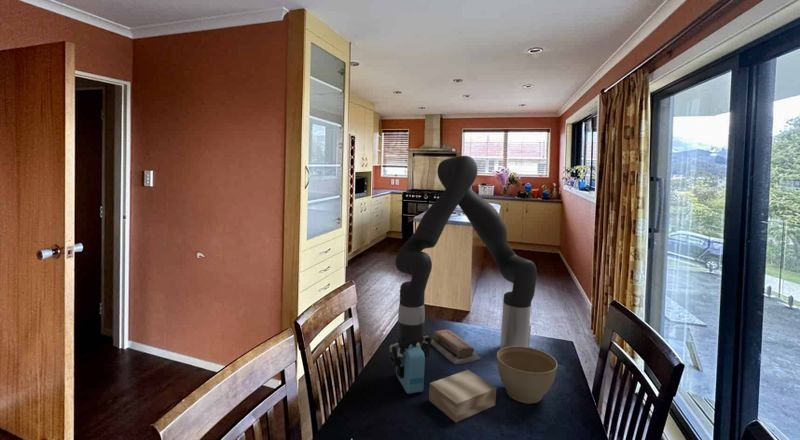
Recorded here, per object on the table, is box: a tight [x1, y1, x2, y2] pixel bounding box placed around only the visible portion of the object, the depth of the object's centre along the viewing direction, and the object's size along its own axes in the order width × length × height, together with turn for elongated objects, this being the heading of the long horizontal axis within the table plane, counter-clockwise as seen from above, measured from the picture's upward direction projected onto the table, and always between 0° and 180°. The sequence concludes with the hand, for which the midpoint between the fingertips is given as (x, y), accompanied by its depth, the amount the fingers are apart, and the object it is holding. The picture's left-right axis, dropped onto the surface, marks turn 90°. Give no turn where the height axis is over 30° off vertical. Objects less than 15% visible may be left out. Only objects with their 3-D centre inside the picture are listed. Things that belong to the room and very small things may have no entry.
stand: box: [428, 369, 497, 423], centre depth 107 cm, size 14×11×5 cm
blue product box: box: [395, 339, 426, 395], centre depth 115 cm, size 12×4×12 cm, turn 18°
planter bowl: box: [496, 346, 558, 404], centre depth 112 cm, size 16×16×11 cm
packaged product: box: [431, 329, 481, 365], centre depth 138 cm, size 18×5×10 cm
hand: (409, 374), depth 115 cm, fingers closed on blue product box, 5 cm apart
